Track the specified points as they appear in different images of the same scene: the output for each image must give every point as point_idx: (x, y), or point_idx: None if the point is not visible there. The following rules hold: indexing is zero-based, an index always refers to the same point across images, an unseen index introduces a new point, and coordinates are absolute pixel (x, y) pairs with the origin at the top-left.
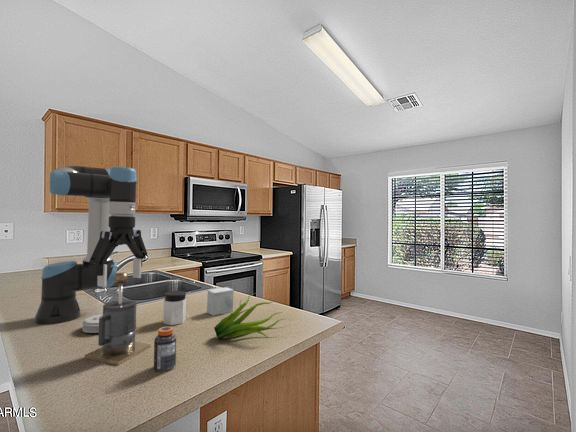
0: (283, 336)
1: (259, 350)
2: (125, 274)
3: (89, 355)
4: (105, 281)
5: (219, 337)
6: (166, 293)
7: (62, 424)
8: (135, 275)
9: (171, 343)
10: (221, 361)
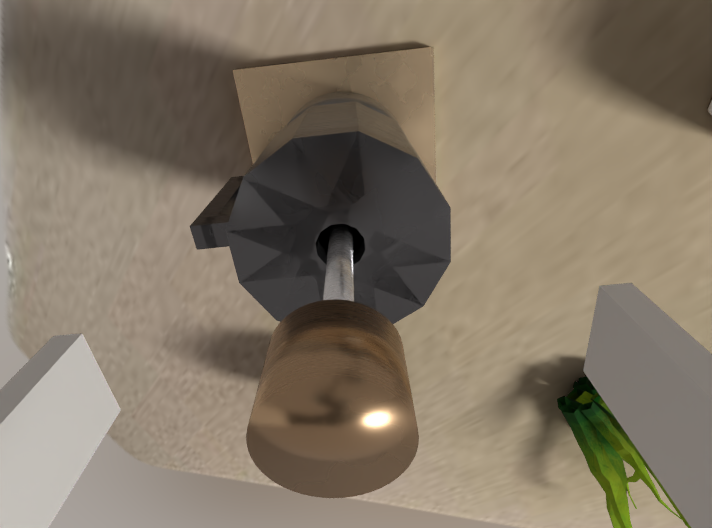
0: (642, 506)
1: (527, 495)
2: (344, 490)
3: (242, 96)
4: (77, 458)
5: (562, 405)
6: None
7: None
8: (607, 343)
9: None
10: (431, 457)
